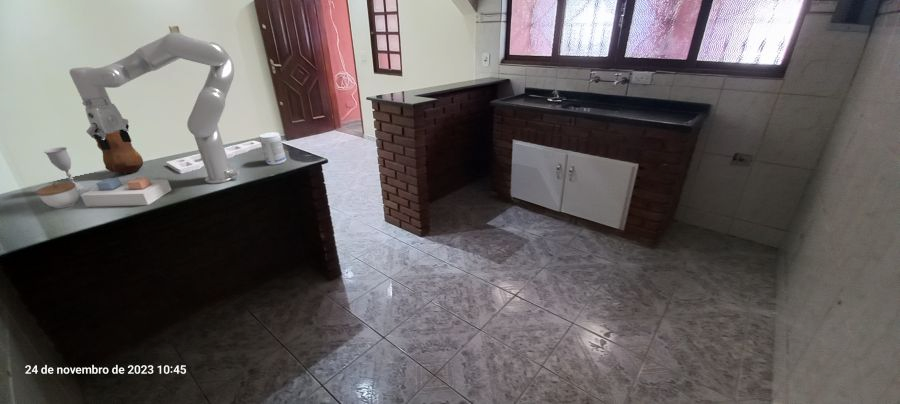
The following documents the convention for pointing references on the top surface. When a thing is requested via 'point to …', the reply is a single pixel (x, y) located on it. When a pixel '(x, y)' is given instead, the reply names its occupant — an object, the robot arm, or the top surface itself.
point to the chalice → (62, 162)
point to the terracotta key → (139, 183)
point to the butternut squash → (120, 155)
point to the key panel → (127, 194)
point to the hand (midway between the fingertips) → (117, 145)
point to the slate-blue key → (109, 184)
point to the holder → (189, 163)
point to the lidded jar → (59, 194)
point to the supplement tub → (272, 148)
